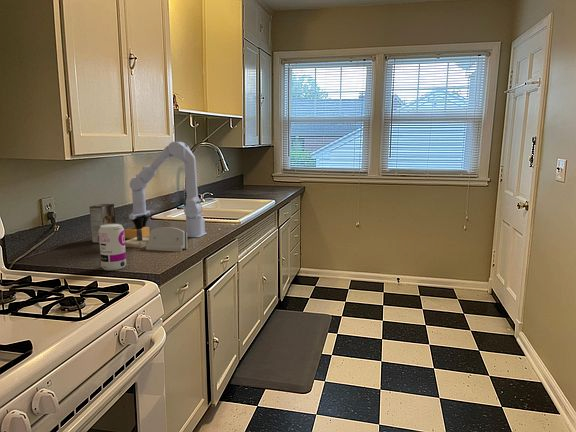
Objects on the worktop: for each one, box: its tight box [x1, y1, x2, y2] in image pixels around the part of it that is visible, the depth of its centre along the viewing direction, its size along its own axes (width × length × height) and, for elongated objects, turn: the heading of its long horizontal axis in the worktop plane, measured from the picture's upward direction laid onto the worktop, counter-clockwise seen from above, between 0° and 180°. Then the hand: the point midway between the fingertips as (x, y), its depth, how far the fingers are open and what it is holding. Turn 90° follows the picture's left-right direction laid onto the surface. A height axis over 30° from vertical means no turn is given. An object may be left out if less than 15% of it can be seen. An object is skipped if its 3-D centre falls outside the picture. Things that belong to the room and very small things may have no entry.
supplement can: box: [99, 223, 127, 271], centre depth 153 cm, size 8×8×15 cm
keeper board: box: [125, 229, 149, 249], centre depth 190 cm, size 14×10×6 cm
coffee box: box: [89, 203, 116, 244], centre depth 196 cm, size 9×6×16 cm
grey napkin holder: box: [145, 226, 188, 253], centre depth 181 cm, size 17×5×10 cm, turn 77°
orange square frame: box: [124, 225, 151, 240], centre depth 204 cm, size 8×8×4 cm
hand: (141, 232), depth 207 cm, fingers closed on orange square frame
